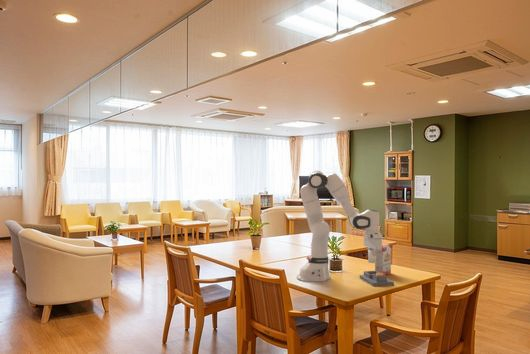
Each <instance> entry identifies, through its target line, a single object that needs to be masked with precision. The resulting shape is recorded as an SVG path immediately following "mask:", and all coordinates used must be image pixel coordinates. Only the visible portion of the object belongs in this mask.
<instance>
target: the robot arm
mask: <svg viewBox="0 0 530 354" xmlns="http://www.w3.org/2000/svg"><path fill="white" fill-rule="evenodd" d="M307 178H308V179H307V183H306V184H304V185H302V186H301V187H300V190H299V193H300V199H301V202H302V205H303V209H304V212H305V214H306V220H307V223H308V224H307V225H308V228H309V230H310V232H311V233H312V238H311V244H310V246H311V247H310V249H311V250H310V256H309V255H308V256H306V260H307V263H305V264H304V265H302V267H301V268H300V269H299V274H296V278H297V280H299V281H302V282H326V281H327V280H329V279H331V275H330V272H329V271H330V269H329V262H330V261H329V255H328V254H329V252H328V251H329V249H328V245H329V237H330V232H331V228H330V225H329V223H328V222H326V221H325V219H324V215H323V209H322V205H321V202H320V200H319V199H320V198H319V196H318V192H317V191H318V189H322V188H326V189H327V190H328V192H329V193H330V195H331V196H332V197H333V199H334V200H335V201H336V202H337V203H338V204H339V205H341V207H342V208H343V210H344V211H345V214H347V217H348V223H349V224H350V226H351V227H353V228H355V229H357V230H363V229H365V235H364V236H363V246H364V247H367V250H368V247H369V248H371V249H373V256H376V253H377V251H381V249H382V243H383V239H384V238H383V235H382V233H381V232H380V213H379V212H378V211H377V210H374V209H371V208H370V209H369V208H368V209H366V210H365V211H363V212H361V213H359V212H358V211H357V210H356V209H355V207H354V206H353V204H352V203H351V200H350V191H349V189H348V187H347V186H346V184H345V183H344V181H343V180H342V178H341V177H340V176H339V175H338V174H337V173H335V172H331V173H328V174H326V175H325V174H324V173H323V172H322V171H320V170H315V171H314V170H313V171H312V172H310V173H309V175H308V177H307Z"/></svg>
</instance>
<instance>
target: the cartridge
mask: <svg viewBox="0 0 530 354" xmlns="http://www.w3.org/2000/svg"><path fill="white" fill-rule="evenodd" d="M367 253H368V254H367V255H368V256H367V262H368V263H370V264H375V263H376V256H373V249H371V248H369V247H368V249H367Z"/></svg>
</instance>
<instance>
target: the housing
mask: <svg viewBox="0 0 530 354" xmlns="http://www.w3.org/2000/svg"><path fill="white" fill-rule="evenodd" d="M376 273H379V272H378V271H375V270H364V271H363V274H359V279H360V280H362V281H363V282H365V283H367V284H369V285H371V286H372V287H382V286H394V285H395V282H394V281H393V280H391V279H389V278H388V276H387V275H384V274H383V276H377V275H376Z"/></svg>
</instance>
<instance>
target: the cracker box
mask: <svg viewBox="0 0 530 354" xmlns="http://www.w3.org/2000/svg"><path fill="white" fill-rule="evenodd" d="M391 267H392V244H391V243H387V242H382V249H381V251H377V253H376V263H374V271H378V272H379V273H383V274H384V275H386V276H387V275H390V274H391V273H392V272H391V271H392V268H391Z"/></svg>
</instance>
